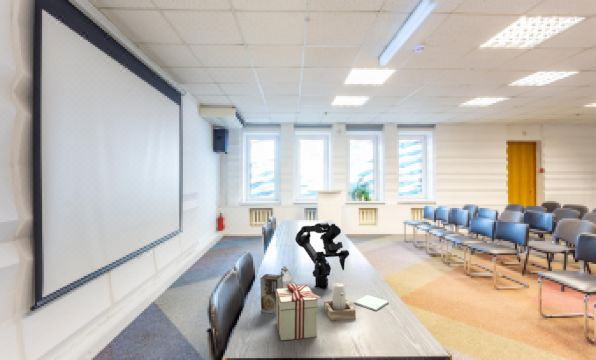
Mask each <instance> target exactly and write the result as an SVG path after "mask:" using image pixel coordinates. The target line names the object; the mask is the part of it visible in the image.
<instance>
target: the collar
mask: <svg viewBox="0 0 596 360" xmlns="http://www.w3.org/2000/svg"><path fill="white" fill-rule="evenodd" d="M323 309H324V311H325V313H326V315H327V317H328V318H329V321H337V320H339V321H340V320H349V319H356V317H357V316H356V309H355V308H354V307H353V305H352V304H351V303H350V302H349V301H348V299H346V310H335V311H333V300H329V301H323Z"/></svg>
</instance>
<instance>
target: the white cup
mask: <svg viewBox="0 0 596 360" xmlns="http://www.w3.org/2000/svg"><path fill="white" fill-rule="evenodd" d="M292 282H293V277H292V276H291V277H290V276H282V285H283V288H287V287H288V286H287V284H292Z"/></svg>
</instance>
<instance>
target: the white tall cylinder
mask: <svg viewBox="0 0 596 360" xmlns="http://www.w3.org/2000/svg"><path fill="white" fill-rule="evenodd" d="M331 288H332V292H331V294H332V298H331V299H332V301H333V311H335V310H346V300H347V298H346V294H347V293H346V292H347V291H346V284H345V283H342V282H336V283H333V284H332V285H331Z"/></svg>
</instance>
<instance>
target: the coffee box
mask: <svg viewBox="0 0 596 360" xmlns="http://www.w3.org/2000/svg"><path fill="white" fill-rule="evenodd" d="M259 280H260V281H259V282H260V312H261V313H267V314H268V313H269V314H276V299H277V298H276V289H282V288H283V285H282V275H281V274H269V273H265V274H263V276H261V277H260V278H259Z"/></svg>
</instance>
